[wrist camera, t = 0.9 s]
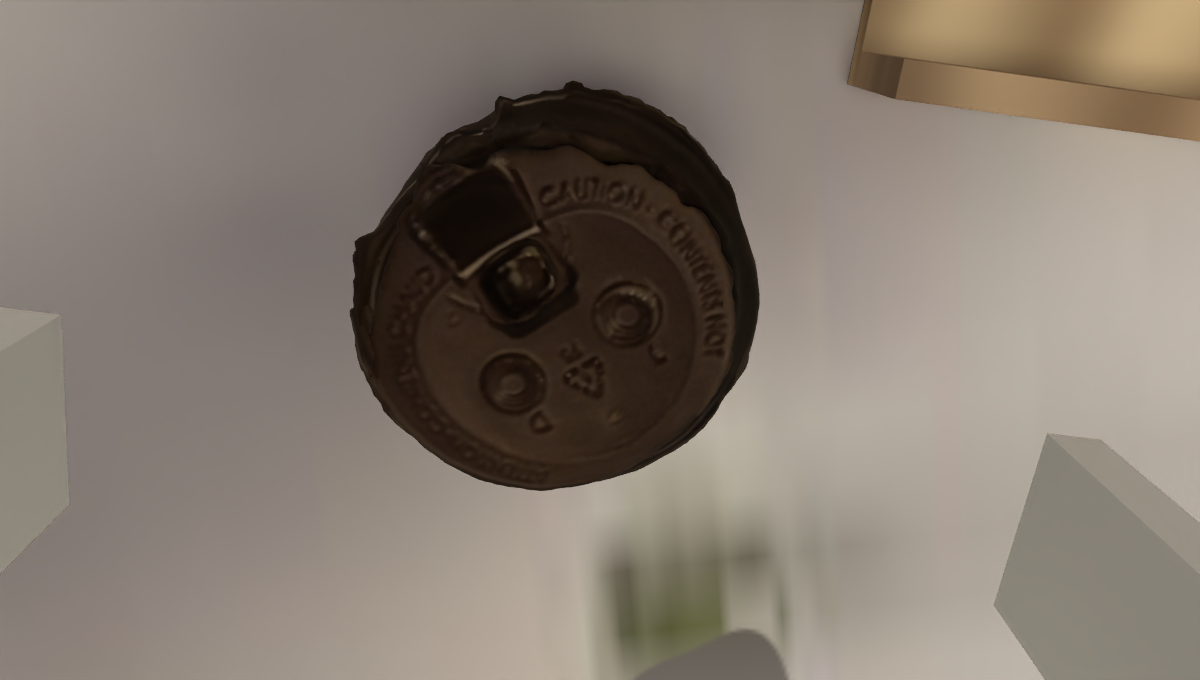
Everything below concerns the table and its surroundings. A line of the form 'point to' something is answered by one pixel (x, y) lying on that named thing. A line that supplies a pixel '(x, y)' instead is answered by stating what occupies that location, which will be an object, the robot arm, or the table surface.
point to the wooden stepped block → (1040, 59)
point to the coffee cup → (557, 292)
